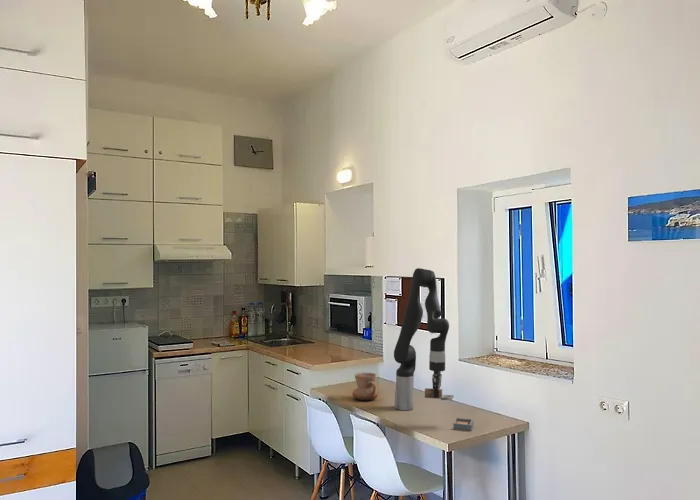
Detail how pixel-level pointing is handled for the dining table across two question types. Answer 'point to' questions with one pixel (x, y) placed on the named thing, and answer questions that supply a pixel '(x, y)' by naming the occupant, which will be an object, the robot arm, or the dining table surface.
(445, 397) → the brown and grey scraper
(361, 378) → the ceramic jug
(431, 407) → the dining table surface
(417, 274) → the robot arm
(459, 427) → the bay
